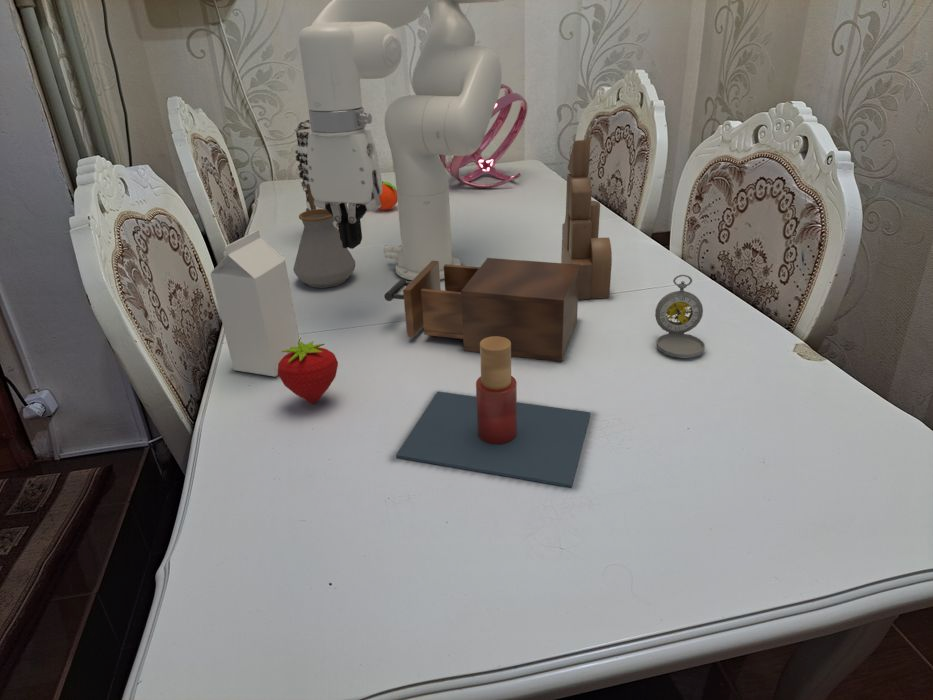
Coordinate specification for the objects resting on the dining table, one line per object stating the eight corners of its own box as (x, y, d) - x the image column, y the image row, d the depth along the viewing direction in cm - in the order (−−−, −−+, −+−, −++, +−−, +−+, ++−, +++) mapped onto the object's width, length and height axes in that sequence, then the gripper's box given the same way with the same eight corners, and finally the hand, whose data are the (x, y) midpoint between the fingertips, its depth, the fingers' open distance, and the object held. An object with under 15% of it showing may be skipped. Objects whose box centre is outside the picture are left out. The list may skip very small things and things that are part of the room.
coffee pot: (361, 286, 119) (351, 206, 112) (298, 296, 116) (283, 214, 109) (346, 250, 137) (336, 179, 130) (291, 257, 134) (278, 185, 127)
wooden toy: (611, 298, 110) (622, 147, 98) (572, 300, 110) (578, 149, 98) (594, 266, 123) (602, 129, 111) (559, 267, 123) (563, 131, 111)
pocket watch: (679, 365, 89) (687, 298, 84) (638, 341, 96) (644, 278, 91) (722, 350, 92) (733, 285, 88) (679, 328, 99) (687, 266, 94)
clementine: (408, 208, 163) (405, 180, 160) (391, 215, 158) (388, 186, 155) (383, 204, 167) (380, 177, 164) (366, 211, 162) (362, 183, 159)
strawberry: (346, 409, 83) (335, 340, 78) (286, 420, 81) (271, 350, 76) (340, 386, 88) (330, 320, 83) (283, 396, 86) (270, 329, 81)
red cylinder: (472, 441, 75) (469, 350, 69) (483, 419, 79) (481, 331, 73) (511, 447, 74) (510, 355, 68) (520, 424, 77) (520, 335, 72)
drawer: (378, 333, 99) (373, 287, 96) (409, 301, 110) (405, 258, 106) (492, 346, 94) (491, 297, 90) (513, 311, 104) (512, 266, 101)
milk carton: (303, 354, 96) (280, 231, 87) (275, 378, 90) (248, 248, 81) (262, 348, 98) (236, 228, 89) (233, 371, 92) (202, 244, 83)
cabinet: (463, 350, 95) (460, 290, 91) (488, 312, 107) (487, 257, 102) (561, 362, 91) (564, 300, 87) (576, 321, 102) (579, 264, 98)
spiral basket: (572, 108, 170) (497, 45, 174) (505, 153, 156) (426, 83, 160) (535, 180, 194) (471, 123, 198) (475, 224, 180) (407, 162, 184)
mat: (396, 457, 73) (395, 454, 73) (437, 393, 85) (437, 391, 85) (571, 487, 68) (571, 484, 68) (590, 414, 79) (590, 412, 79)
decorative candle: (300, 242, 143) (280, 124, 131) (323, 229, 150) (307, 117, 138) (335, 246, 139) (318, 125, 128) (357, 233, 147) (343, 118, 135)
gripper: (396, 118, 93) (405, 241, 101) (304, 117, 97) (321, 235, 105) (374, 126, 86) (386, 257, 95) (277, 125, 91) (297, 250, 99)
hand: (352, 245), depth 100 cm, fingers closed
